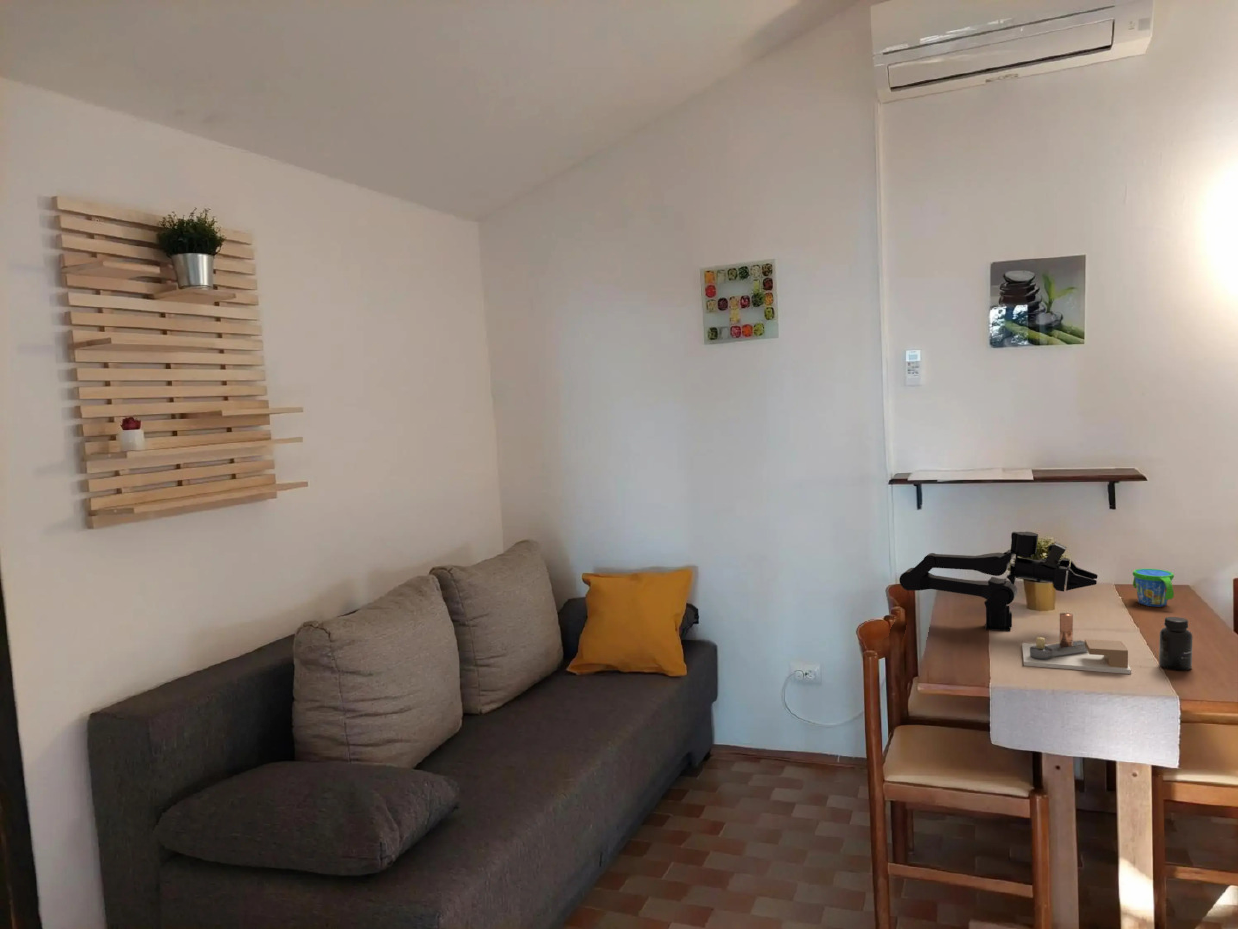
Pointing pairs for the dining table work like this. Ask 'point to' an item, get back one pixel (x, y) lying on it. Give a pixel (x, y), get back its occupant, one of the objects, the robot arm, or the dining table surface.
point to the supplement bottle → (1175, 645)
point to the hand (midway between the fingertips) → (1097, 579)
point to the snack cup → (1153, 586)
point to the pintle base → (1084, 657)
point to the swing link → (1061, 642)
